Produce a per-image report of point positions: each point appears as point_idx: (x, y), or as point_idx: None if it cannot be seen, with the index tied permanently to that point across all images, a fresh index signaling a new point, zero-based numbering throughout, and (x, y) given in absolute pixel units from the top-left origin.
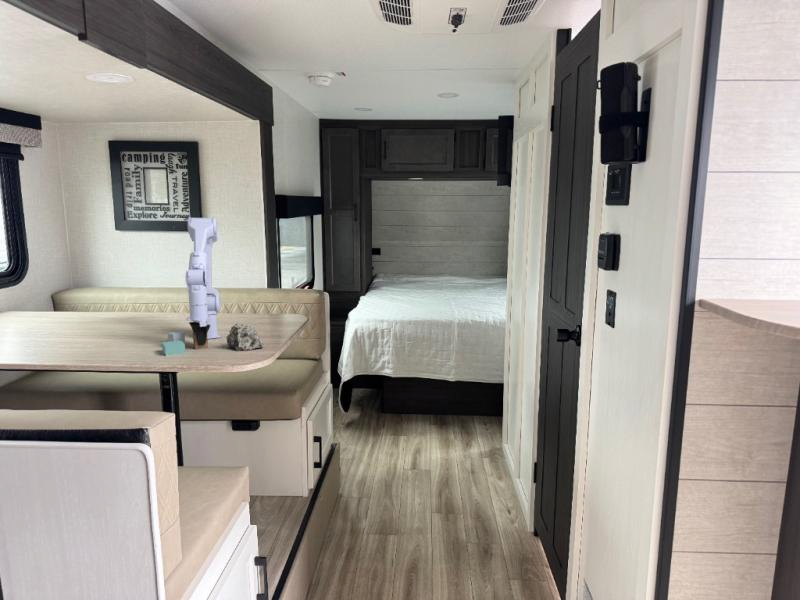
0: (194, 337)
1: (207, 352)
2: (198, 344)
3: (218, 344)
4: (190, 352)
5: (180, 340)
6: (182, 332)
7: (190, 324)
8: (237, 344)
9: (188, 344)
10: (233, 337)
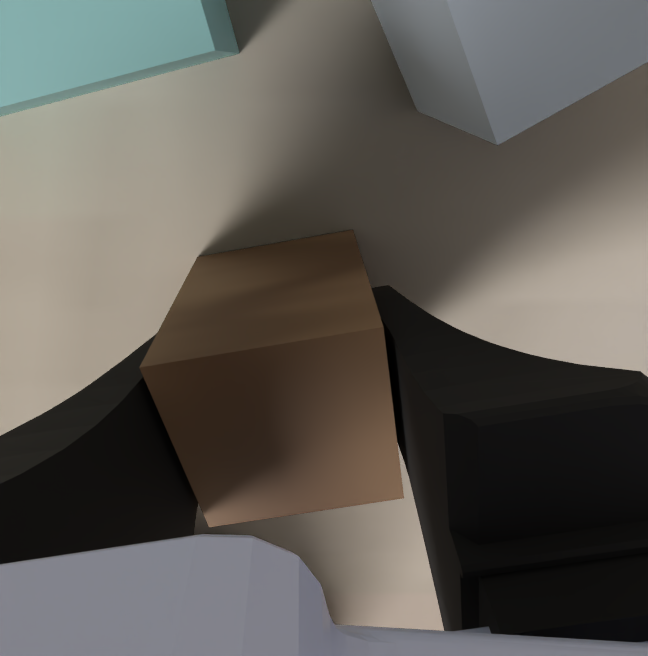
0: (214, 325)
1: (27, 379)
2: None
3: None
4: (40, 194)
5: (190, 39)
6: (554, 90)
7: (439, 419)
8: None
9: (539, 155)
10: None
